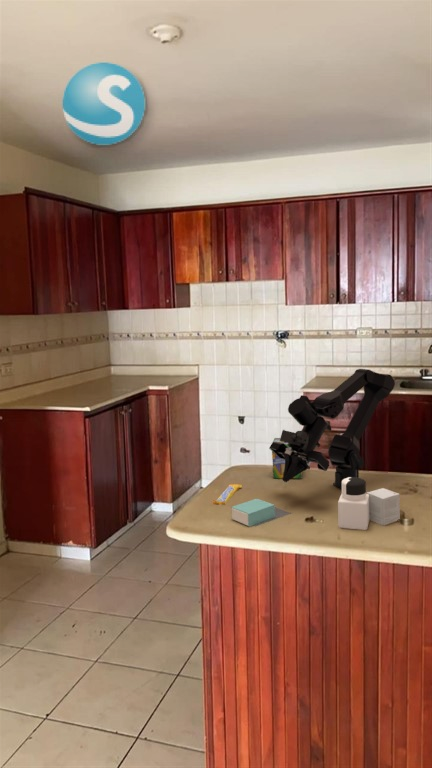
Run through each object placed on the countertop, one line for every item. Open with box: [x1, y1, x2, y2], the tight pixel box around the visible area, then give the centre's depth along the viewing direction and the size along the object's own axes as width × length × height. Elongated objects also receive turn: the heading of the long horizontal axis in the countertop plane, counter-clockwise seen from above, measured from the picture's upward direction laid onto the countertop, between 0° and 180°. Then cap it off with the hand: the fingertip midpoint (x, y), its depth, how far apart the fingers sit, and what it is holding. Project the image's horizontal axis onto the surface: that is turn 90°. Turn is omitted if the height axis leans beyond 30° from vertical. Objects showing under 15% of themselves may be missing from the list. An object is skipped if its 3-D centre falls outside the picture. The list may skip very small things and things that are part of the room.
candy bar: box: [212, 483, 243, 506], centre depth 184 cm, size 17×4×2 cm, turn 161°
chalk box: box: [271, 437, 303, 479], centre depth 200 cm, size 9×9×15 cm
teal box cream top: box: [231, 498, 276, 528], centre depth 164 cm, size 4×7×9 cm
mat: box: [253, 506, 292, 527], centre depth 166 cm, size 13×9×1 cm
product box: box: [366, 487, 401, 526], centre depth 160 cm, size 6×6×7 cm
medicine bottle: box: [337, 477, 371, 531], centre depth 158 cm, size 7×7×12 cm
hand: (284, 481), depth 171 cm, fingers closed
